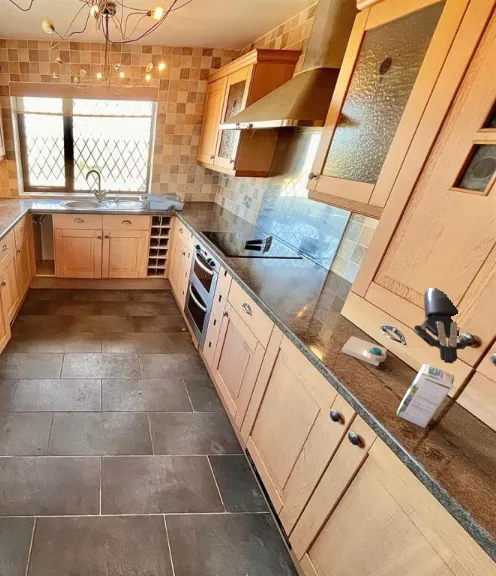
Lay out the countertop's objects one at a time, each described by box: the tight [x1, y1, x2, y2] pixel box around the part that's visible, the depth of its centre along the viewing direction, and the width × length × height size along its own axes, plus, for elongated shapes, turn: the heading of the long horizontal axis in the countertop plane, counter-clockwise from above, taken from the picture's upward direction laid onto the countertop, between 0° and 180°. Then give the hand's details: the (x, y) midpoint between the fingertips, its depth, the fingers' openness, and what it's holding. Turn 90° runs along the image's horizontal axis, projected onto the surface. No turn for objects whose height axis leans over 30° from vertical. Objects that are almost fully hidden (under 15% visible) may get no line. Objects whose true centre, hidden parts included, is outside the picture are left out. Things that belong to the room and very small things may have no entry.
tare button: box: [371, 347, 382, 356], centre depth 98 cm, size 2×2×2 cm
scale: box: [340, 335, 388, 367], centre depth 103 cm, size 11×11×4 cm
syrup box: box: [396, 363, 455, 429], centre depth 77 cm, size 6×6×14 cm
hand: (448, 362), depth 79 cm, fingers closed
